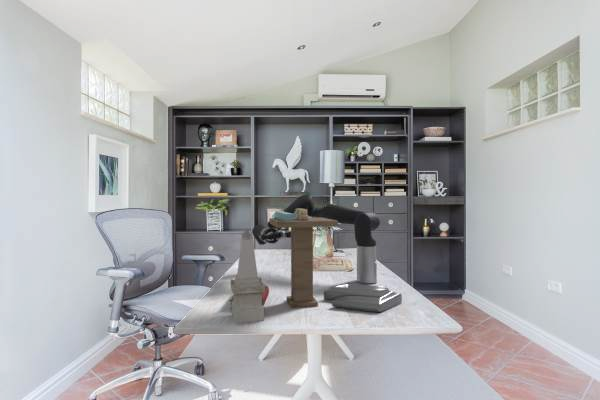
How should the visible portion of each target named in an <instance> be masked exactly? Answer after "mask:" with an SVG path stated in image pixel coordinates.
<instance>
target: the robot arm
mask: <svg viewBox="0 0 600 400" xmlns="http://www.w3.org/2000/svg"><path fill="white" fill-rule="evenodd" d="M296 209H307V215H308V217H309V218H327V219H331V220H336V221H338V224H343V225H353V226H354V228H353V229H354V239H355V242H356V282H357V283H361V284H377V281H378V280H377V279H378V278H377V277H378V276H377V274H378V273H377V272H378V271H377V270H378V267H377V265H378V264H377V240H376V239H375V238H373V236H372V232H373V231H375V230H376V229H377V230H378V228H379V226H380V224H381V220H380V218H379V216H378V215H377V214H376V213H374V212H372V211H361V210H355V209H352V208H350V207H346V206H342V205H339V204H334V203H328V204H325V205H324V206H323V207H317V206H316V205H315V202H314V200H313V196H312V195H311V194H309V193H307V194H302V195H300V196H299V197H297V198H296V199H295V200H294V201H293V202H292V203H290V205H288V206H287V207H286V208H285V209H284V210H282V211H283V212H287V213H291V214H295V213H296ZM274 218H276V217H275V216H274ZM266 226H267V227H266ZM266 226H265V225H263V224H257V225H255V226H253V228H251V234H252V236H253V238H254V239H255V240H256V242H257V243H258V245H261V246H262V245H266V244H276V243H277V242H279V241H280V240H283V239H287V238H290V239H291V230H289V231H283V230H282V229H283V228H277V227H275V226H273V225H272V224H270V220H269V221H268V222H267V223H266ZM280 230H281V231H280Z"/></svg>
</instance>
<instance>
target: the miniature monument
mask: <svg viewBox="0 0 600 400" xmlns="http://www.w3.org/2000/svg"><path fill="white" fill-rule="evenodd" d="M238 256H239V259H238V265H237V273H236V275H235V278H234V279H232V278H231V279H230V288H231V289H230V290H231V292H232V295H234V300H233V301H232V309H231V316H232V319H233V323H234V324H235V325H236V324H247V323H256V322H264V321H265V310H264V309H265V308H264V306H263V305H262V293H263V292H265V286H266V284H265V283H263V282H262V277H261V276H258V268H257V261H256V254H255V246H254V236H253V234H252V232H250V231H249V229H248V228H246V229H245V231H244V232H243V233H242V234H241V240H240V248H239V255H238Z"/></svg>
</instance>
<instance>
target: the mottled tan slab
mask: <svg viewBox="0 0 600 400" xmlns="http://www.w3.org/2000/svg"><path fill="white" fill-rule="evenodd" d="M354 268H355V267H354V263H353V260H351V259H345V258H339V257H320V258H313V272H346V273H347V272H350V271H352V270H354Z"/></svg>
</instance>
